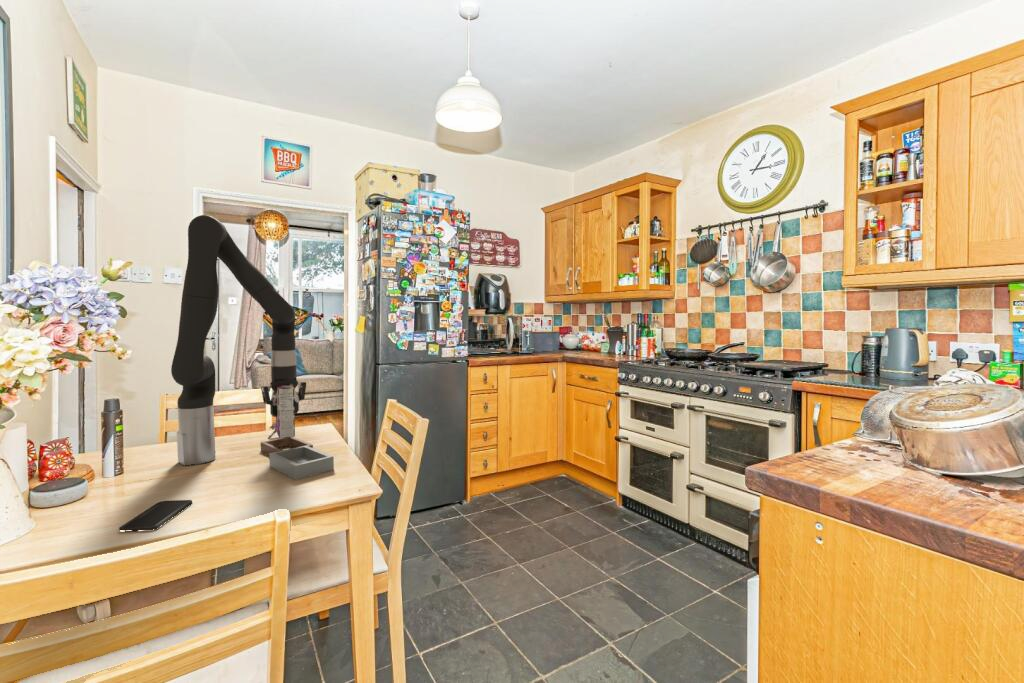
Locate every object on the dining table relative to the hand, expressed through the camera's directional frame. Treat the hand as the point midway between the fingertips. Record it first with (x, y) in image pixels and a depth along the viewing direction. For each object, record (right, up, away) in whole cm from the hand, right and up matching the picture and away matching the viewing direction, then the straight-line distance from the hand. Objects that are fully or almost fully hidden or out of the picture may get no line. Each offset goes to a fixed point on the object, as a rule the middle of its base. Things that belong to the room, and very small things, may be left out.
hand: (284, 414), depth 157 cm
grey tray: (+12, -14, -15) cm, 23 cm away
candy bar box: (0, -7, +1) cm, 7 cm away
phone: (-6, -17, -48) cm, 51 cm away
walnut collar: (0, -13, +1) cm, 13 cm away
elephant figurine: (-10, -11, +20) cm, 25 cm away
